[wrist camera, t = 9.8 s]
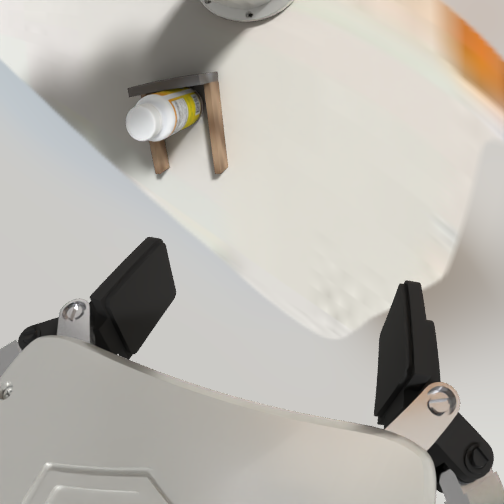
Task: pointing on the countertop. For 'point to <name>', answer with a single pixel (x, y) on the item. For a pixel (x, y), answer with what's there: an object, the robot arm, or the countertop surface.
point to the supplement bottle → (164, 114)
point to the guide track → (212, 112)
